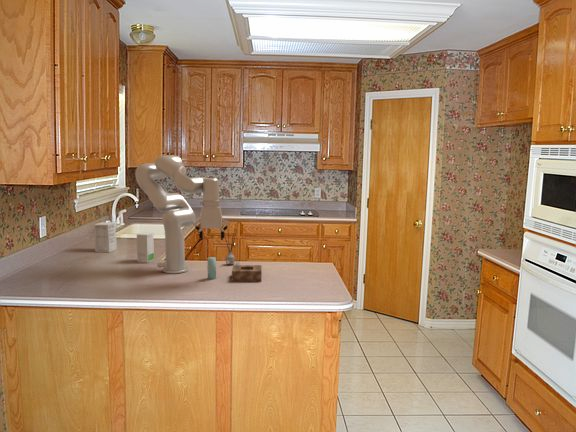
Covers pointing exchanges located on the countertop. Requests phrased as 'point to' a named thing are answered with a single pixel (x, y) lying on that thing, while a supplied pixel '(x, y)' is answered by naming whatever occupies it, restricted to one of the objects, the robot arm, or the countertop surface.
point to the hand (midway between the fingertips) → (211, 239)
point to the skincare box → (145, 247)
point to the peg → (211, 268)
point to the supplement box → (105, 237)
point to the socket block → (246, 273)
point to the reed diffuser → (230, 258)
